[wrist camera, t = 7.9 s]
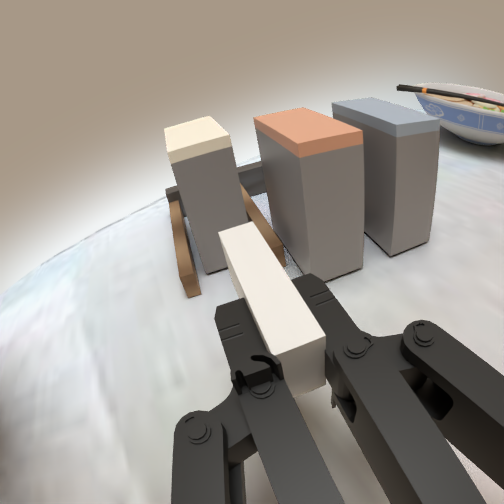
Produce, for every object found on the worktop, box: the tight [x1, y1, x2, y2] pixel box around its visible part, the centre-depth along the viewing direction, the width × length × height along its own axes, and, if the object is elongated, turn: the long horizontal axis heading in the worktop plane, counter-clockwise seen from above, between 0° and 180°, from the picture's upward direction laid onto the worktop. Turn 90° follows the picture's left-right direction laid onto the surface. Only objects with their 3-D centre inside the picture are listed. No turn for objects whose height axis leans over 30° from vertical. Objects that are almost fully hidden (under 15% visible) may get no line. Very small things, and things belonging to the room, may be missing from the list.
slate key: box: [332, 98, 440, 256], centre depth 23 cm, size 8×4×10 cm, turn 16°
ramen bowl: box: [397, 83, 504, 146], centre depth 38 cm, size 25×23×8 cm
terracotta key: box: [254, 108, 364, 281], centre depth 22 cm, size 8×4×10 cm, turn 16°
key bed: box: [166, 161, 286, 298], centre depth 29 cm, size 14×20×3 cm
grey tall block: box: [164, 116, 249, 274], centre depth 25 cm, size 8×4×10 cm, turn 16°
